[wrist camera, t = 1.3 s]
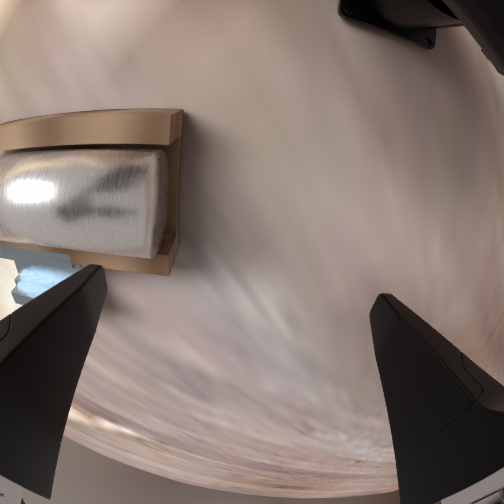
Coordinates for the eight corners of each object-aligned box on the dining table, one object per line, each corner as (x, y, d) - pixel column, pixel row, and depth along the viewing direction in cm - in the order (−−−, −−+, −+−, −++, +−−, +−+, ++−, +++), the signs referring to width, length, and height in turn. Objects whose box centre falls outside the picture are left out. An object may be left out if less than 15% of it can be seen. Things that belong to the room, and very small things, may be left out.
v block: (87, 232, 19) (69, 254, 16) (100, 294, 22) (87, 319, 20) (13, 225, 18) (-7, 244, 16) (30, 282, 21) (15, 302, 19)
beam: (183, 109, 15) (170, 115, 12) (178, 249, 20) (169, 276, 17) (-44, 134, 13) (-67, 145, 10) (-28, 228, 18) (-45, 244, 16)
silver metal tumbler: (171, 141, 16) (139, 163, 11) (168, 229, 18) (143, 280, 13) (8, 147, 14) (-44, 170, 10) (17, 217, 17) (-27, 253, 12)
